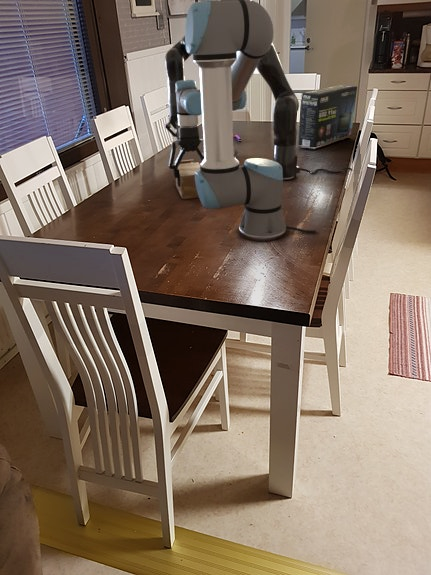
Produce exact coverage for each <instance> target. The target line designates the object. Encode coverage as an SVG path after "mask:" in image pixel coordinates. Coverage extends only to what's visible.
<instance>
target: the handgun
mask: <svg viewBox="0 0 431 575" xmlns="http://www.w3.org/2000/svg"><path fill="white" fill-rule="evenodd" d="M235 136H236V137H237V138H238V139H239V140H241V139H242V138H241V137H240V136H239V135H237V134H236V135H235ZM233 139H236V138H235V137H233ZM238 142H239V143H242V142H243V140H242V141H238Z"/></svg>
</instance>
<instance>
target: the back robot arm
mask: <svg viewBox="0 0 431 575" xmlns="http://www.w3.org/2000/svg"><path fill="white" fill-rule="evenodd" d="M191 56H192V55H191V54H188V53H187V50H186V44H185V35H184V36H182V37H181V39H180V40H179V41H178V42H176V43H175V44H174V45H173V46H172V47H171V48H169V50H168V51H166V53H165V56H164V61H165V69H166V70H165V71H166V75H167V90H168V91H167V92H168V93H167V95H168V96H167V100H168V111H169V118H168V122H167V123H165V124H164V128H165V129H166V130H167V131H168V132H169V133H170V134H171V136H172V137H174V138H176V142H177V141H179V125H178V112H177V100H176V93H175V91H176V82H177V81H180V80H186V79H185V71H184V70H185V68H184V66H185V65H184V63H185V62H186V61H187V60H188V59H189V58H190V57H191ZM256 70H257V72H258V73H259V75H260V76H261V78H262V79H263V80H264V81H265V83H266V84H267V85H268V87H269V89H270V91H271V93H272V96H273V99H274V101H275V102H274V104H273V108H272V109H273V110H272V130H273V150H272V151H273V152H272V153H273V154H272V155H273V156H272V161H275V162H277V163H279V164H280V165H281V166H282V170H283V181H291V180H294V179H295V178H297V174H300V173H301V171H304V172H307V173H308V172H309V173H308V174H310V175H315V174H316V173H317V172H319V171H322V172H326V173H331V174H339V173H342V172H343V171H340V170H330V169H326V168H316V169H315V170H314V171H310V170H309V169H306V168H301V167H300V166H298V154H296V152H297V134H298V132H297V113H298V111H299V110H300V101H299V99H298V97H297V95H296V94H295V92H294V90H293V88H292V87H291V85H290V83H289V81H288V79H287V76H286V74H285V71H284V69H283V66H282V63H281V60H280V58H279V55H278V52H277V51H276V48H275V46H274V44H273V43H272V45H271V47H270V49H269V51H268V53H267V54H266V55H265V56H264V57H263V58H261V59H260V61H259V63H258V65H257V67H256ZM172 127H173V129H174V130H175V131H173V129H172ZM178 146H179V147H180V148H182V147H181V146H180V145H178ZM178 146H177V147H178ZM329 170H330V171H329ZM341 170H344V171H346V170H349V171H351V172H353V168H351V167H349V166H347V167H344V168H342V169H341ZM310 172H312V173H310Z"/></svg>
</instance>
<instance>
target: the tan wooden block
mask: <svg viewBox="0 0 431 575" xmlns="http://www.w3.org/2000/svg"><path fill="white" fill-rule="evenodd" d="M178 169H179V175H180V187H178V185H177V178H176V179H175V187H176V189H177V191H178V193H179V195H180V197H181V199H182V200H187V199H197V198H199V196H198V192H197V188H196V184H195V172H197V171H200V163H199V162H198V161H196V162H194V163H186V164H179V166H178Z"/></svg>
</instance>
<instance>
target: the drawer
mask: <svg viewBox="0 0 431 575" xmlns="http://www.w3.org/2000/svg"><path fill="white" fill-rule="evenodd" d="M175 161H176V160H174V162H173V165H174V164H175ZM186 163H195V160H194V159H182V160H181V162H180V164H186ZM173 177H174V176H173ZM174 179H175V180H176V178H175V177H174Z"/></svg>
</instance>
